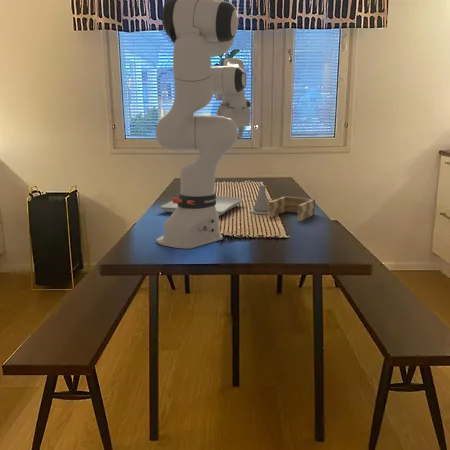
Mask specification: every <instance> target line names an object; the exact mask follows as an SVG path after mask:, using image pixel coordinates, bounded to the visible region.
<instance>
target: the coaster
mask: <svg viewBox="0 0 450 450" xmlns="http://www.w3.org/2000/svg"><path fill="white" fill-rule="evenodd" d="M249 211H250V213H251V214H254V215H269V211H254V210H253V208H251V209H250V210H249Z"/></svg>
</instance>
